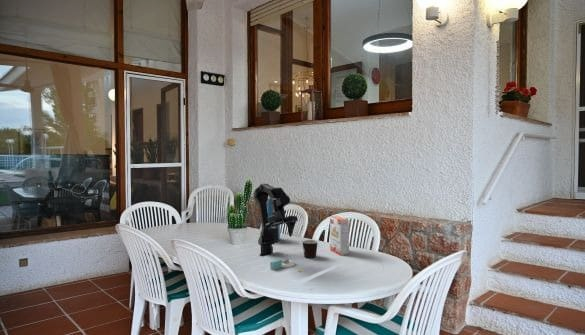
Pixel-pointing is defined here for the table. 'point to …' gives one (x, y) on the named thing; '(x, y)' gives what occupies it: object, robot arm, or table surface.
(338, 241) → the cracker box
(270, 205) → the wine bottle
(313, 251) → the coffee mug
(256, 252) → the table surface
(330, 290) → the table surface
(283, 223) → the robot arm
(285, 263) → the dial
